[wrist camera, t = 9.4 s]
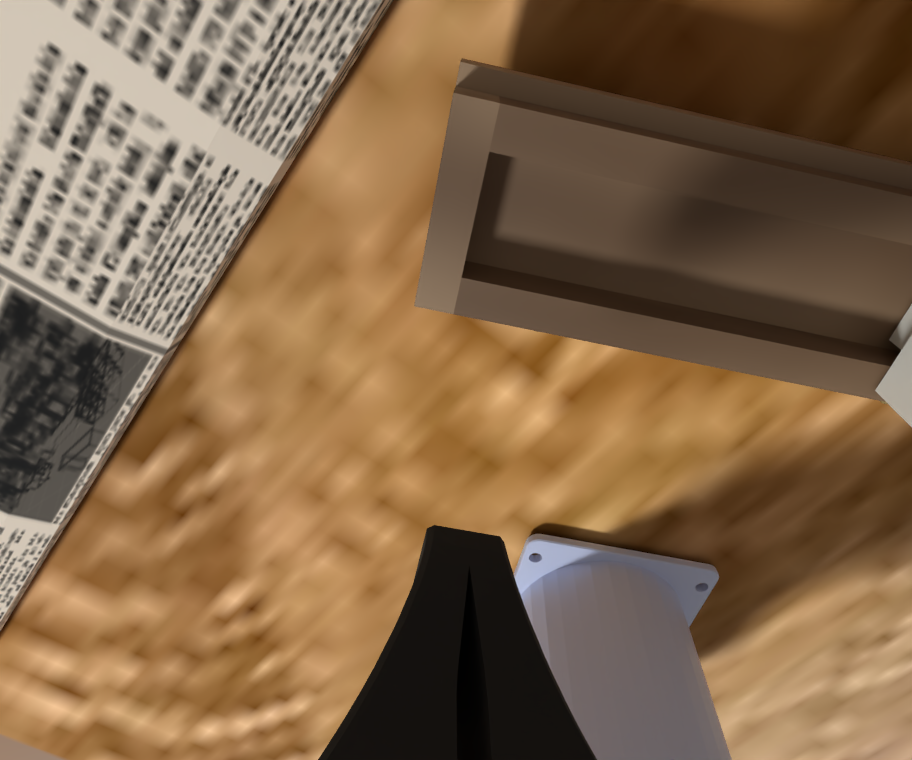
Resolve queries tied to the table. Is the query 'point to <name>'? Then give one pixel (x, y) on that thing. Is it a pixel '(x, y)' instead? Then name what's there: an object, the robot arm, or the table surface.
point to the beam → (668, 232)
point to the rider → (900, 371)
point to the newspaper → (131, 210)
